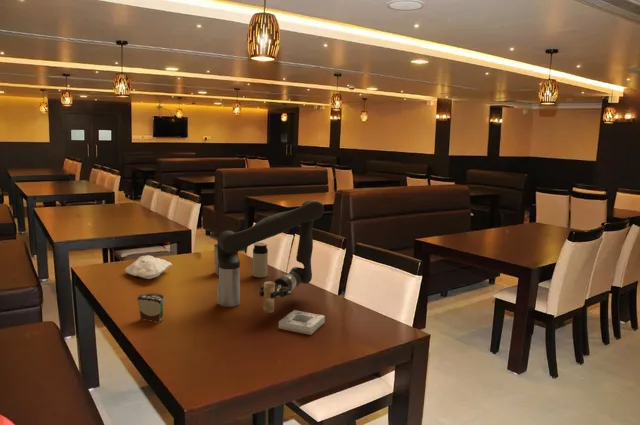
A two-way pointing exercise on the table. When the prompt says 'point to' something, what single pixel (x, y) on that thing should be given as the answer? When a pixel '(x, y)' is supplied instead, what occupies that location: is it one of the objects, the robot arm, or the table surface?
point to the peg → (268, 297)
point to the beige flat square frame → (301, 322)
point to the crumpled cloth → (148, 267)
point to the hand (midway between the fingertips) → (266, 295)
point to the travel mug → (260, 259)
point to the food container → (151, 306)
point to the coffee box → (216, 259)
